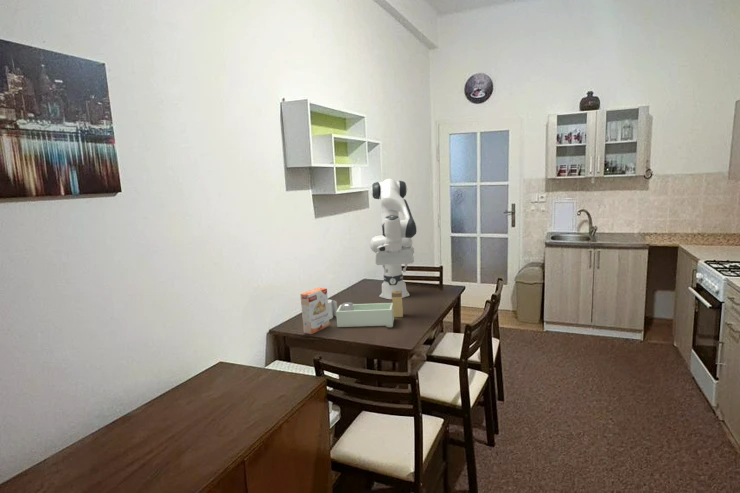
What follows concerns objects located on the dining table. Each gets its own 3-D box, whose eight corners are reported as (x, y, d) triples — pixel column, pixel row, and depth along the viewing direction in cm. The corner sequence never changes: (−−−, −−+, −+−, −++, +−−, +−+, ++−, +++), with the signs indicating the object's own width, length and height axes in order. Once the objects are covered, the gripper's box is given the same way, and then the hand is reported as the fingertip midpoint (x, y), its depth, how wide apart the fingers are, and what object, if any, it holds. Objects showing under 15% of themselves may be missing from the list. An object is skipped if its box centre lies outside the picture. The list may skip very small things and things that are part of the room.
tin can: (344, 320, 232) (342, 302, 231) (355, 320, 231) (353, 302, 230) (342, 324, 226) (340, 306, 225) (353, 324, 226) (352, 305, 224)
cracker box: (312, 336, 216) (308, 294, 212) (303, 334, 219) (299, 293, 216) (330, 327, 227) (327, 287, 224) (321, 325, 230) (318, 286, 227)
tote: (341, 321, 236) (340, 304, 234) (393, 319, 232) (392, 302, 231) (337, 328, 224) (336, 311, 222) (392, 327, 220) (391, 309, 219)
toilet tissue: (311, 319, 243) (309, 301, 241) (331, 314, 248) (329, 297, 246) (317, 324, 233) (316, 305, 232) (338, 319, 239) (337, 301, 237)
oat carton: (393, 314, 241) (392, 291, 239) (403, 313, 240) (401, 290, 238) (393, 317, 236) (391, 293, 234) (402, 316, 235) (401, 293, 233)
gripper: (413, 244, 234) (415, 270, 236) (375, 246, 236) (377, 271, 238) (413, 246, 228) (415, 272, 230) (374, 248, 230) (376, 274, 232)
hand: (395, 272), depth 234 cm, fingers open, 8 cm apart
